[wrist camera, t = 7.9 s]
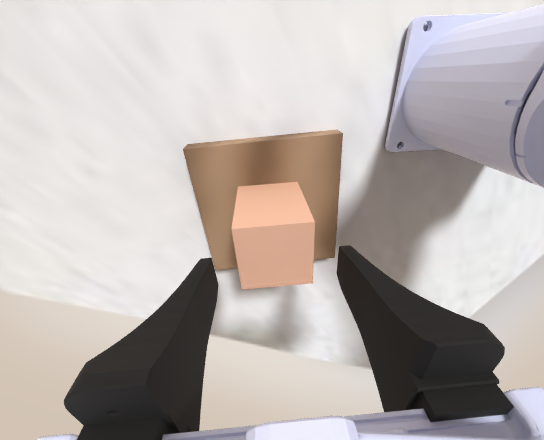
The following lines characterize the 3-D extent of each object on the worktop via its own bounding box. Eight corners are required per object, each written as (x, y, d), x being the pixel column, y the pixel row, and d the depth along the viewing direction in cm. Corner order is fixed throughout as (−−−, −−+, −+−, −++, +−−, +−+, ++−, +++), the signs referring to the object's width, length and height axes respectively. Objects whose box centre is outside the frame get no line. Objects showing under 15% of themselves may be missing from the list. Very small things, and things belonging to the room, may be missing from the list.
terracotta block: (297, 181, 18) (315, 222, 13) (297, 231, 20) (312, 283, 15) (237, 186, 18) (231, 228, 13) (244, 236, 20) (241, 289, 15)
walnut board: (334, 128, 18) (342, 133, 17) (328, 244, 24) (334, 257, 22) (189, 142, 18) (182, 149, 16) (218, 256, 24) (215, 270, 22)
